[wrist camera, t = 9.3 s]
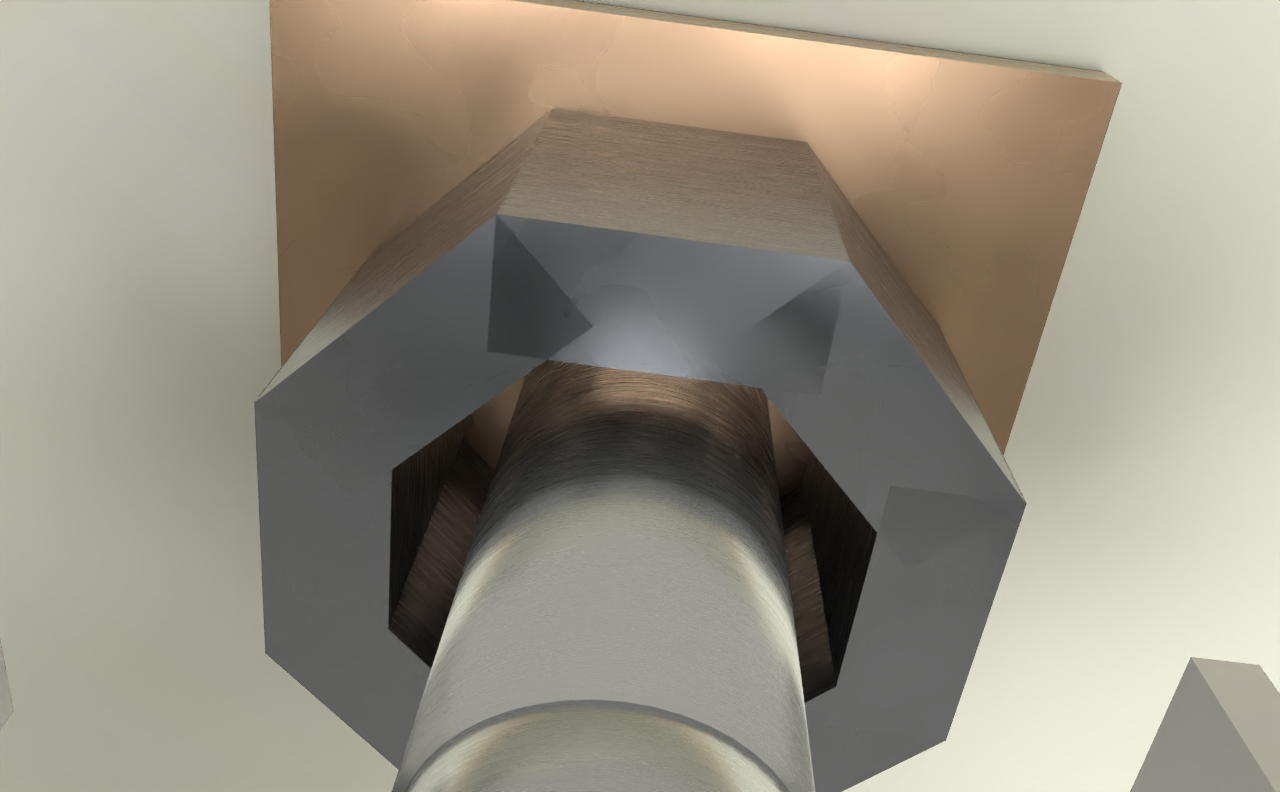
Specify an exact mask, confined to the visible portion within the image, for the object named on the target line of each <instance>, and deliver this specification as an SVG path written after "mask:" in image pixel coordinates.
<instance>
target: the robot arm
mask: <svg viewBox="0 0 1280 792" xmlns="http://www.w3.org/2000/svg"><path fill="white" fill-rule="evenodd" d="M12 713H13V706H12V701H11V695H10V690H9V684H8V679H7V673H6V668H5V663H4V657H3V652H2V646H1V641H0V729H1V727H2V726H3V725H4V724H5V722H6V721H7V720H8V718H9V717H10V716H11V714H12ZM1130 792H1280V694H1279V692H1278V691H1277V689H1276V688H1275V687H1274V685H1273V684H1272V682H1271V681H1270V679H1269V678H1268V677H1267V675H1266V674H1265V672H1264V671H1263V670H1262V668H1261V667H1260V665H1253V664H1245V663H1236V662H1228V661H1219V660H1211V659H1202V658H1194V657H1191V658H1190V661H1189V663H1188V665H1187V667H1186V669H1185V672H1184V674H1183V676H1182V678H1181V681H1180V683H1179V685H1178V687H1177V689H1176V692H1175V694H1174V696H1173V698H1172V701H1171V703H1170V705H1169V707H1168V709H1167V712H1166V714H1165V716H1164V718H1163V720H1162V723H1161V725H1160V727H1159V729H1158V732H1157V734H1156V736H1155V738H1154V740H1153V743H1152V745H1151V747H1150V749H1149V752H1148V754H1147V756H1146V758H1145V760H1144V763H1143V765H1142V767H1141V769H1140V772H1139V774H1138V776H1137V778H1136V780H1135V783H1134V785H1133V787H1132V789H1131V791H1130Z"/></svg>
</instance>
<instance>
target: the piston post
mask: <svg viewBox="0 0 1280 792" xmlns="http://www.w3.org/2000/svg"><path fill="white" fill-rule="evenodd" d="M270 28H271V59H272V89H273V120H274V151H275V182H276V213H277V243H278V274H279V305H280V336H281V366H283V365H284V364H285V363H286V361H287V360H288V359H289V357H290V356H291V355H292V354H293V352H294V351H295V350H296V349H297V347H298V346H299V345H300V343H301V342H302V341H303V340H304V338H305V337H306V336H307V334H308V333H309V332H310V331H311V329H312V328H313V327H314V326H315V324H316V323H317V322H318V320H319V319H320V318H321V317H322V315H323V314H324V313H325V311H326V310H327V309H328V308H329V306H330V305H331V304H332V303H333V301H334V300H335V299H336V297H337V296H338V295H339V294H340V292H341V291H342V290H343V288H344V287H345V286H346V285H347V283H348V282H349V281H350V280H351V278H352V277H353V276H354V274H355V273H356V272H357V271H358V269H359V268H360V267H361V265H362V264H363V263H364V262H365V260H366V259H367V258H368V257H369V255H370V254H372V253H373V252H374V251H375V250H377V249H378V248H379V247H380V246H382V245H383V244H384V243H385V242H387V241H388V240H389V239H390V238H392V237H393V236H394V235H395V234H397V233H398V232H399V231H400V230H402V229H403V228H404V227H405V226H407V225H408V224H409V223H410V222H412V221H413V220H414V219H415V218H417V217H418V216H419V215H420V214H421V213H423V212H424V211H425V210H426V209H428V208H429V207H430V206H431V205H433V204H434V203H435V202H436V201H438V200H439V199H440V198H441V197H443V196H444V195H445V194H446V193H448V192H449V191H450V190H451V189H453V188H454V187H455V186H456V185H458V184H459V183H460V182H461V181H463V180H464V179H465V178H466V177H468V176H469V175H470V174H471V173H473V172H474V171H475V170H476V169H478V168H479V167H480V166H481V165H482V164H484V163H485V162H486V161H487V160H489V159H490V158H491V157H492V156H494V155H495V154H496V153H497V152H499V151H500V150H501V149H502V148H504V147H505V146H506V145H507V144H509V143H510V142H511V141H512V140H514V139H515V138H516V137H517V136H519V135H520V134H521V133H522V132H524V131H525V130H526V129H527V128H529V127H530V126H531V125H532V124H534V123H535V122H536V121H537V120H539V119H540V118H541V117H542V116H544V115H545V114H546V113H547V112H548V111H550V110H551V109H552V108H559V109H566V110H573V111H581V112H588V113H595V114H603V115H610V116H618V117H625V118H632V119H640V120H647V121H654V122H662V123H669V124H677V125H684V126H691V127H699V128H706V129H713V130H721V131H728V132H736V133H743V134H750V135H758V136H765V137H772V138H780V139H787V140H795V141H802V142H808V144H809V145H810V146H811V148H812V149H813V151H814V152H815V154H816V155H817V156H818V158H819V159H820V161H821V162H822V163H823V165H824V166H825V168H826V169H827V170H828V172H829V173H830V175H831V176H832V177H833V179H834V180H835V182H836V183H837V184H838V186H839V187H840V189H841V190H842V192H843V193H844V194H845V196H846V197H847V199H848V200H849V201H850V203H851V204H852V206H853V207H854V208H855V210H856V211H857V213H858V214H859V215H860V217H861V218H862V220H863V221H864V222H865V224H866V225H867V227H868V228H869V230H870V231H871V232H872V234H873V235H874V237H875V238H876V239H877V241H878V242H879V244H880V245H881V246H882V248H883V249H884V251H885V252H886V253H887V255H888V256H889V258H890V259H891V260H892V262H893V263H894V265H895V266H896V268H897V269H898V270H899V272H900V273H901V275H902V276H903V277H904V279H905V280H906V282H907V283H908V284H909V286H910V287H911V289H912V290H913V291H914V293H915V294H916V296H917V297H918V298H919V300H920V301H921V303H922V304H923V306H924V307H925V308H926V310H927V311H928V313H929V314H930V315H931V317H932V318H933V320H934V321H935V322H936V324H937V325H938V327H939V328H940V329H941V330H942V332H943V334H944V336H945V338H946V341H947V343H948V345H949V347H950V349H951V351H952V353H953V355H954V357H955V359H956V361H957V363H958V365H959V367H960V369H961V371H962V373H963V375H964V377H965V379H966V381H967V383H968V385H969V387H970V389H971V392H972V394H973V396H974V398H975V400H976V402H977V404H978V406H979V408H980V410H981V412H982V414H983V416H984V418H985V420H986V422H987V424H988V426H989V428H990V430H991V432H992V434H993V436H994V438H995V440H996V442H997V445H998V447H999V449H1000V451H1001V453H1002V455H1003V454H1004V451H1005V448H1006V445H1007V442H1008V439H1009V436H1010V433H1011V429H1012V426H1013V423H1014V420H1015V417H1016V414H1017V411H1018V407H1019V404H1020V401H1021V398H1022V395H1023V392H1024V389H1025V385H1026V382H1027V379H1028V376H1029V373H1030V370H1031V367H1032V363H1033V360H1034V357H1035V354H1036V351H1037V348H1038V345H1039V342H1040V338H1041V335H1042V332H1043V329H1044V326H1045V323H1046V320H1047V316H1048V313H1049V310H1050V307H1051V304H1052V301H1053V298H1054V294H1055V291H1056V288H1057V285H1058V282H1059V279H1060V276H1061V273H1062V269H1063V266H1064V263H1065V260H1066V257H1067V254H1068V251H1069V247H1070V244H1071V241H1072V238H1073V235H1074V232H1075V229H1076V225H1077V222H1078V219H1079V216H1080V213H1081V210H1082V207H1083V203H1084V200H1085V197H1086V194H1087V191H1088V188H1089V185H1090V182H1091V178H1092V175H1093V172H1094V169H1095V166H1096V163H1097V160H1098V156H1099V153H1100V150H1101V147H1102V144H1103V141H1104V138H1105V134H1106V131H1107V128H1108V125H1109V122H1110V119H1111V116H1112V112H1113V109H1114V106H1115V103H1116V100H1117V97H1118V94H1119V91H1120V87H1121V84H1122V83H1121V82H1120V81H1118V80H1116V79H1114V78H1113V77H1111V76H1109V75H1108V74H1106V73H1104V72H1100V71H1093V70H1085V69H1078V68H1071V67H1063V66H1056V65H1048V64H1041V63H1034V62H1026V61H1019V60H1011V59H1004V58H997V57H989V56H982V55H974V54H967V53H960V52H952V51H945V50H937V49H930V48H923V47H915V46H908V45H900V44H893V43H886V42H878V41H871V40H863V39H856V38H849V37H841V36H834V35H826V34H819V33H811V32H804V31H797V30H789V29H782V28H774V27H767V26H760V25H752V24H745V23H737V22H730V21H723V20H715V19H708V18H700V17H693V16H686V15H678V14H671V13H663V12H656V11H649V10H641V9H634V8H626V7H619V6H612V5H604V4H597V3H589V2H582V1H575V0H270ZM463 438H464V440H465V441H466V442H467V443H468V444H469V445H470V446H471V447H472V448H473V449H474V450H475V451H476V452H477V453H478V454H479V455H480V456H481V457H482V458H483V459H484V461H485V462H486V463H487V464H488V465H489V466H490V467H491V468H492V469H493V470H494V471H495V472H494V475H493V478H492V481H491V484H490V487H489V490H488V494H487V497H486V500H485V503H484V506H483V509H482V512H481V515H480V519H479V522H478V525H477V528H476V531H475V534H474V537H473V540H472V544H471V547H470V550H469V553H468V556H467V559H466V562H465V565H464V568H463V572H462V575H461V578H460V581H459V584H458V587H457V590H456V593H455V597H454V600H453V603H452V606H451V609H450V612H449V615H448V618H447V622H446V625H445V628H444V631H443V634H442V637H441V640H440V643H439V647H438V650H437V653H436V656H435V659H434V662H433V665H432V668H431V671H430V675H429V678H428V681H427V684H426V687H425V690H424V693H423V696H422V700H421V703H420V706H419V709H418V712H417V715H416V718H415V721H414V725H413V728H412V731H411V734H410V737H409V740H408V743H407V746H406V749H405V753H404V756H403V759H402V762H401V765H400V768H399V771H398V774H397V778H396V781H395V784H394V787H393V790H392V792H815V786H814V778H813V769H812V761H811V753H810V745H809V737H808V728H807V720H806V712H805V704H804V696H803V687H802V679H801V671H800V663H799V655H798V646H797V638H796V630H795V622H794V614H793V605H792V597H791V589H790V581H789V573H788V564H787V556H786V548H785V540H784V532H783V523H782V515H781V507H780V499H779V497H780V496H782V495H783V494H785V493H787V492H788V491H790V490H792V489H793V488H795V487H797V486H798V485H800V484H801V483H803V481H804V476H805V472H806V468H807V463H808V459H809V454H810V449H809V447H808V446H807V445H806V444H805V442H804V441H803V440H802V439H801V437H800V436H799V435H798V434H797V432H796V431H795V430H794V429H793V428H792V426H791V425H790V424H789V423H788V421H787V420H786V419H785V418H784V416H783V415H782V414H781V413H780V411H779V410H778V409H777V408H776V406H775V405H774V404H773V403H772V401H771V400H770V399H769V398H768V396H767V395H766V394H765V393H764V391H763V390H762V389H761V388H757V387H750V386H742V385H735V384H727V383H720V382H712V381H705V380H697V379H689V378H682V377H674V376H667V375H659V374H652V373H644V372H637V371H629V370H621V369H614V368H606V367H599V366H591V365H584V364H576V363H569V362H561V361H553V360H546V361H544V362H543V363H541V364H540V365H538V366H537V367H536V368H534V369H533V370H531V371H530V372H529V373H527V374H526V375H524V376H523V377H522V378H520V379H519V380H517V381H516V382H515V383H513V384H512V385H510V386H509V387H508V388H506V389H505V390H503V391H502V392H500V393H499V394H498V395H496V396H495V397H493V398H492V399H491V400H489V401H488V402H486V403H485V404H484V405H482V406H481V407H479V408H478V409H477V410H475V411H474V412H472V413H471V414H469V415H468V416H467V417H465V418H464V428H463Z"/></svg>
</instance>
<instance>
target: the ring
mask: <svg viewBox="0 0 1280 792" xmlns="http://www.w3.org/2000/svg"><path fill="white" fill-rule="evenodd" d="M546 360H553V361H561V362H569V363H576V364H584V365H591V366H599V367H606V368H614V369H621V370H629V371H637V372H644V373H652V374H659V375H667V376H674V377H682V378H689V379H697V380H705V381H712V382H720V383H727V384H735V385H742V386H750V387H757V388H761V389H762V390H763V391H764V393H765V394H766V395H767V396H768V398H769V399H770V400H771V401H772V403H773V404H774V405H775V406H776V408H777V409H778V410H779V411H780V413H781V414H782V415H783V416H784V418H785V419H786V420H787V421H788V423H789V424H790V425H791V426H792V428H793V429H794V430H795V431H796V432H797V434H798V435H799V436H800V437H801V439H802V440H803V441H804V442H805V444H806V445H807V446H808V447H809V449H810V454H809V459H808V463H807V468H806V472H805V476H804V481H803V483H801V484H800V485H798V486H797V487H795V488H793V489H792V490H790V491H788V492H787V493H785V494H783V495H782V496H780V497H779V499H780V507H781V515H782V523H783V532H784V540H785V548H786V556H787V564H788V573H789V581H790V589H791V597H792V605H793V614H794V622H795V630H796V638H797V646H798V655H799V663H800V671H801V679H802V687H803V696H804V704H805V712H806V720H807V728H808V737H809V745H810V753H811V761H812V769H813V778H814V786H815V792H842V791H844V790H846V789H848V788H850V787H852V786H854V785H856V784H858V783H860V782H862V781H864V780H866V779H868V778H870V777H872V776H874V775H876V774H878V773H880V772H882V771H884V770H887V769H889V768H891V767H893V766H895V765H897V764H899V763H901V762H903V761H905V760H907V759H909V758H911V757H913V756H915V755H917V754H919V753H921V752H923V751H925V750H927V749H929V748H931V747H933V746H935V745H937V744H939V743H941V742H943V741H946V738H947V735H948V732H949V730H950V727H951V724H952V721H953V718H954V715H955V712H956V709H957V706H958V703H959V700H960V697H961V694H962V691H963V688H964V685H965V683H966V680H967V677H968V674H969V671H970V668H971V665H972V662H973V659H974V656H975V653H976V650H977V647H978V644H979V641H980V638H981V636H982V633H983V630H984V627H985V624H986V621H987V618H988V615H989V612H990V609H991V606H992V603H993V600H994V597H995V594H996V591H997V589H998V586H999V583H1000V580H1001V577H1002V574H1003V571H1004V568H1005V565H1006V562H1007V559H1008V556H1009V553H1010V550H1011V547H1012V544H1013V542H1014V539H1015V536H1016V533H1017V530H1018V527H1019V524H1020V521H1021V518H1022V515H1023V512H1024V509H1025V506H1026V502H1025V500H1024V498H1023V496H1022V493H1021V491H1020V489H1019V487H1018V485H1017V483H1016V481H1015V479H1014V477H1013V475H1012V473H1011V471H1010V469H1009V467H1008V465H1007V463H1006V461H1005V459H1004V457H1003V455H1002V453H1001V451H1000V449H999V447H998V445H997V442H996V440H995V438H994V436H993V434H992V432H991V430H990V428H989V426H988V424H987V422H986V420H985V418H984V416H983V414H982V412H981V410H980V408H979V406H978V404H977V402H976V400H975V398H974V396H973V394H972V392H971V389H970V387H969V385H968V383H967V381H966V379H965V377H964V375H963V373H962V371H961V369H960V367H959V365H958V363H957V361H956V359H955V357H954V355H953V353H952V351H951V349H950V347H949V345H948V343H947V341H946V338H945V336H944V334H943V332H942V330H941V329H940V328H939V327H938V325H937V324H936V322H935V321H934V320H933V318H932V317H931V315H930V314H929V313H928V311H927V310H926V308H925V307H924V306H923V304H922V303H921V301H920V300H919V298H918V297H917V296H916V294H915V293H914V291H913V290H912V289H911V287H910V286H909V284H908V283H907V282H906V280H905V279H904V277H903V276H902V275H901V273H900V272H899V270H898V269H897V268H896V266H895V265H894V263H893V262H892V260H891V259H890V258H889V256H888V255H887V253H886V252H885V251H884V249H883V248H882V246H881V245H880V244H879V242H878V241H877V239H876V238H875V237H874V235H873V234H872V232H871V231H870V230H869V228H868V227H867V225H866V224H865V222H864V221H863V220H862V218H861V217H860V215H859V214H858V213H857V211H856V210H855V208H854V207H853V206H852V204H851V203H850V201H849V200H848V199H847V197H846V196H845V194H844V193H843V192H842V190H841V189H840V187H839V186H838V184H837V183H836V182H835V180H834V179H833V177H832V176H831V175H830V173H829V172H828V170H827V169H826V168H825V166H824V165H823V163H822V162H821V161H820V159H819V158H818V156H817V155H816V154H815V152H814V151H813V149H812V148H811V146H810V145H809V144H808V142H802V141H795V140H787V139H780V138H772V137H765V136H758V135H750V134H743V133H736V132H728V131H721V130H713V129H706V128H699V127H691V126H684V125H677V124H669V123H662V122H654V121H647V120H640V119H632V118H625V117H618V116H610V115H603V114H595V113H588V112H581V111H573V110H566V109H559V108H552V109H551V110H550V111H548V112H547V113H546V114H545V115H544V116H542V117H541V118H540V119H539V120H537V121H536V122H535V123H534V124H532V125H531V126H530V127H529V128H527V129H526V130H525V131H524V132H522V133H521V134H520V135H519V136H517V137H516V138H515V139H514V140H512V141H511V142H510V143H509V144H507V145H506V146H505V147H504V148H502V149H501V150H500V151H499V152H497V153H496V154H495V155H494V156H492V157H491V158H490V159H489V160H487V161H486V162H485V163H484V164H482V165H481V166H480V167H479V168H478V169H476V170H475V171H474V172H473V173H471V174H470V175H469V176H468V177H466V178H465V179H464V180H463V181H461V182H460V183H459V184H458V185H456V186H455V187H454V188H453V189H451V190H450V191H449V192H448V193H446V194H445V195H444V196H443V197H441V198H440V199H439V200H438V201H436V202H435V203H434V204H433V205H431V206H430V207H429V208H428V209H426V210H425V211H424V212H423V213H421V214H420V215H419V216H418V217H417V218H415V219H414V220H413V221H412V222H410V223H409V224H408V225H407V226H405V227H404V228H403V229H402V230H400V231H399V232H398V233H397V234H395V235H394V236H393V237H392V238H390V239H389V240H388V241H387V242H385V243H384V244H383V245H382V246H380V247H379V248H378V249H377V250H375V251H374V252H373V253H372V254H370V255H369V257H368V258H367V259H366V260H365V262H364V263H363V264H362V265H361V267H360V268H359V269H358V271H357V272H356V273H355V274H354V276H353V277H352V278H351V280H350V281H349V282H348V283H347V285H346V286H345V287H344V288H343V290H342V291H341V292H340V294H339V295H338V296H337V297H336V299H335V300H334V301H333V303H332V304H331V305H330V306H329V308H328V309H327V310H326V311H325V313H324V314H323V315H322V317H321V318H320V319H319V320H318V322H317V323H316V324H315V326H314V327H313V328H312V329H311V331H310V332H309V333H308V334H307V336H306V337H305V338H304V340H303V341H302V342H301V343H300V345H299V346H298V347H297V349H296V350H295V351H294V352H293V354H292V355H291V356H290V357H289V359H288V360H287V361H286V363H285V364H284V365H283V366H282V368H281V369H280V370H279V372H278V373H277V374H276V375H275V377H274V378H273V379H272V380H271V382H270V383H269V384H268V386H267V387H266V388H265V389H264V391H263V392H262V393H261V395H260V396H259V397H258V398H257V400H256V401H255V425H256V447H257V470H258V493H259V516H260V539H261V562H262V585H263V607H264V630H265V653H266V654H267V655H268V656H269V657H271V658H272V659H273V660H274V661H275V662H276V663H277V664H279V665H280V666H281V667H282V668H283V669H284V670H285V671H287V672H288V673H289V674H290V675H291V676H292V677H293V678H295V679H296V680H297V681H298V682H299V683H300V684H301V685H303V686H304V687H305V688H306V689H307V690H308V691H309V692H311V693H312V694H313V695H314V696H315V697H316V698H317V699H319V700H320V701H321V702H322V703H323V704H324V705H325V706H327V707H328V708H329V709H330V710H331V711H332V712H333V713H335V714H336V715H337V716H338V717H339V718H340V719H341V720H343V721H344V722H345V723H346V724H347V725H348V726H349V727H351V728H352V729H353V730H354V731H355V732H356V733H357V734H359V735H360V736H361V737H362V738H363V739H364V740H365V741H367V742H368V743H369V744H370V745H371V746H372V747H373V748H375V749H376V750H377V751H378V752H379V753H380V754H381V755H383V756H384V757H385V758H386V759H387V760H388V761H389V762H391V763H392V764H393V765H394V766H395V767H396V768H397V769H399V768H400V765H401V762H402V759H403V756H404V753H405V749H406V746H407V743H408V740H409V737H410V734H411V731H412V728H413V725H414V721H415V718H416V715H417V712H418V709H419V706H420V703H421V700H422V696H423V693H424V690H425V687H426V684H427V681H428V678H429V675H430V671H431V668H432V665H433V662H434V659H435V656H436V653H437V650H438V647H439V643H440V640H441V637H442V634H443V631H444V628H445V625H446V622H447V618H448V615H449V612H450V609H451V606H452V603H453V600H454V597H455V593H456V590H457V587H458V584H459V581H460V578H461V575H462V572H463V568H464V565H465V562H466V559H467V556H468V553H469V550H470V547H471V544H472V540H473V537H474V534H475V531H476V528H477V525H478V522H479V519H480V515H481V512H482V509H483V506H484V503H485V500H486V497H487V494H488V490H489V487H490V484H491V481H492V478H493V475H494V472H495V471H494V470H493V469H492V468H491V467H490V466H489V465H488V464H487V463H486V462H485V461H484V459H483V458H482V457H481V456H480V455H479V454H478V453H477V452H476V451H475V450H474V449H473V448H472V447H471V446H470V445H469V444H468V443H467V442H466V441H465V440H464V438H463V428H464V418H465V417H467V416H468V415H469V414H471V413H472V412H474V411H475V410H477V409H478V408H479V407H481V406H482V405H484V404H485V403H486V402H488V401H489V400H491V399H492V398H493V397H495V396H496V395H498V394H499V393H500V392H502V391H503V390H505V389H506V388H508V387H509V386H510V385H512V384H513V383H515V382H516V381H517V380H519V379H520V378H522V377H523V376H524V375H526V374H527V373H529V372H530V371H531V370H533V369H534V368H536V367H537V366H538V365H540V364H541V363H543V362H544V361H546Z"/></svg>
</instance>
